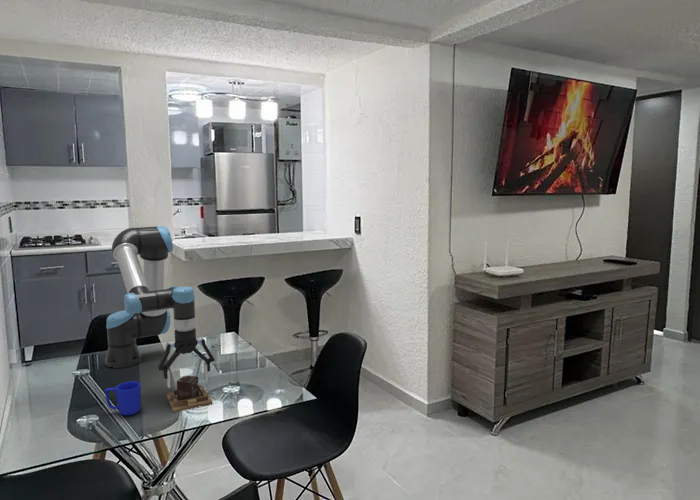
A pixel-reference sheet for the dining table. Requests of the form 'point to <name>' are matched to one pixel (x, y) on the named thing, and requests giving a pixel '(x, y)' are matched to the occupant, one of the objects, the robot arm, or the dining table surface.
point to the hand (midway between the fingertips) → (187, 383)
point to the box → (187, 387)
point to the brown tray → (188, 400)
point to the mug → (126, 397)
